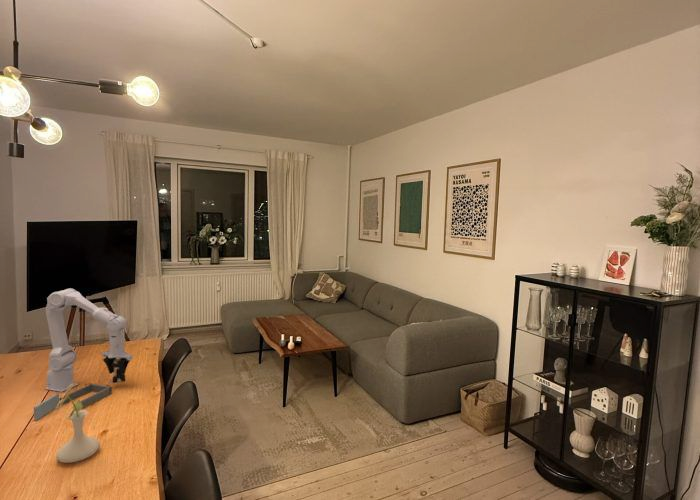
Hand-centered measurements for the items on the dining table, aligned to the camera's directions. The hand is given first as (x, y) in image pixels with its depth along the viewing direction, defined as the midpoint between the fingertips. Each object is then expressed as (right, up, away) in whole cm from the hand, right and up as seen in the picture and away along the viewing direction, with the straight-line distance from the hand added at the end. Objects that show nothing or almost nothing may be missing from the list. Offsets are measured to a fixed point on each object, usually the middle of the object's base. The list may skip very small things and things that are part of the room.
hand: (117, 373), depth 165 cm
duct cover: (-13, -8, -23) cm, 27 cm away
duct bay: (-6, -7, -12) cm, 15 cm away
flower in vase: (+17, -11, -48) cm, 52 cm away
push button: (0, -4, +1) cm, 4 cm away
